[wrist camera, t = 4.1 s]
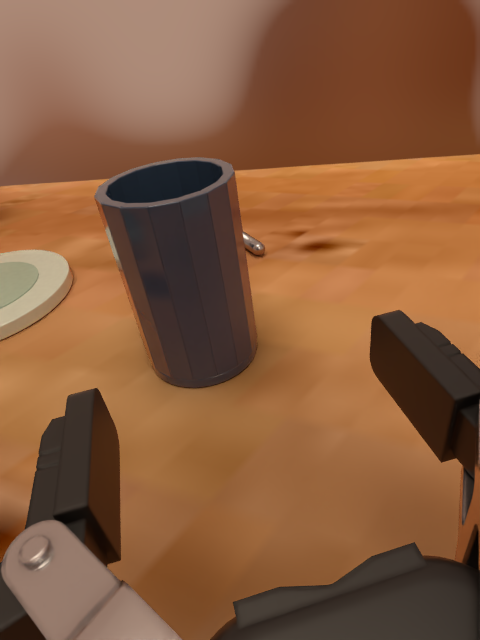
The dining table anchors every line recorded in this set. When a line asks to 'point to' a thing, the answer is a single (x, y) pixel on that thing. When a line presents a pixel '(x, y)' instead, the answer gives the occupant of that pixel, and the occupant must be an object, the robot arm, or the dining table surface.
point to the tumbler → (183, 266)
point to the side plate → (30, 287)
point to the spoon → (253, 244)
